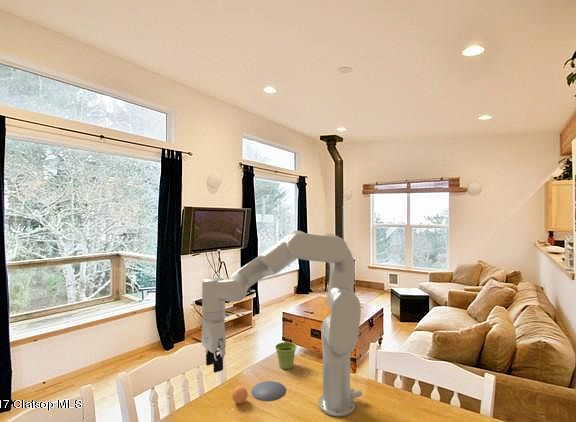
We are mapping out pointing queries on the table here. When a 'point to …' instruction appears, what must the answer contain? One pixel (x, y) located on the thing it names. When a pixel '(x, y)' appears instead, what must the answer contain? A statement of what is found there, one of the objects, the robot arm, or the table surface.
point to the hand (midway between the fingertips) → (214, 367)
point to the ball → (239, 394)
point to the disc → (268, 391)
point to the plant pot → (286, 354)
